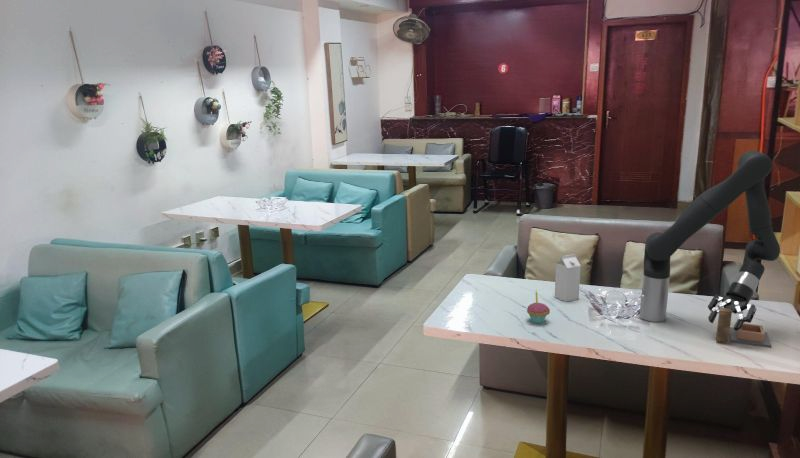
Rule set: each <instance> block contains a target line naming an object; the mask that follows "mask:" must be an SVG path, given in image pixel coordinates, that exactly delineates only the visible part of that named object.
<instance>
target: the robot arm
mask: <svg viewBox="0 0 800 458" xmlns="http://www.w3.org/2000/svg"><path fill="white" fill-rule="evenodd" d="M737 167H738V168H737V169H736V170H735V171H734V172H733V173H731V174H730V176H728V177H727V178H726V179H725V180H723V181H722V182H719V183H717V184H716V185H714V186H712V187H710V188H708V189H706V190H705V191H704V192H702V193H701V194H699V195H698V196H697V197H695V199H694V200H693V201H691V202H690V203H689V204H688V205H687V207H686V208H685V209H684V210H683V212H681V214H680V215H679V217H678V218H677V219H676V221H675V222H674V223H673V224H672V225H671V226H670V227H668V228H667V229H666V230H665V231H664V232H654V233H652V234H649V236H648V237H646V240H645V243H644V256H643V277H642V285H641V286H642V287H641V297H640V307H639V319H641V320H645V321H647V322H653V323H662V322H665V321H666V318H667V309H668V308H667V307H668V297H669V288H670V277H671V258H672V256H673V255H674V253H676V252H677V251H678V249H680V247H681V246H682V245H683V244H684V243H685V242H686V241H687V240H688V239H690V238H691V237H692V236H693V235H695V234H696V233H697V232H699V231H700V230H701V229H703V228H704V227H705V226H706V225H707V224H709V223H710V222H711V221H712V220H714V219H715V218H716V217H717V216H719V214H721V213H722V212H723V211H724V210H725V209H726V208H728V207H729V206H730V205H731V204H733V202H735V200H737V199H738V198H739V197H740V196H741V195H742V194H743V193H744V194H745V201H746V210H747V211H746V212H747V219H748V229H749V233H750V234H751V235H753V236H755V237H757V238H759V239H752V240H750V241H749V242H748V243H747V244H746V245H745V246H746V247H745V251H744V257H743V262H742V265H741V267H740V269H739V270H738V272H737V274H736V275H735V276H734V278H733V280H732V282H731V283H730V285H729V288H728V289H727V291H726V292H725V295H724V296H723V297H722V296H719V295H718V294H715V295H714V296H713V298H712V299H711V300H710V302H709V304H708V305H707V308H708V310H709V312H710V313H709V316H708V322H709V323H711V324H714V322H715V319H716V318H717V315H719V309H720V307H722V308H730V309H731V310H732V314H733V315H736V314H737V315H738V319H737V320H736V321H735V324H734V326H733V328H734V330H735V331H738V330H740V329H741V327H742V325H743V323H747V324H751V323H752V321H753V319H754V316H755V314H756V312H757V307H756V305H755V304H750V301H751V299H752V297H753V296H754V294H755V292H756V290H757V287H758V286H759V282H760V280H761V279H762V276H763V275H764V272H765V266H764V265H763V263H761V262H760V261H757V260H761V261H767V262H773V261H776V260H777V259H778V258H779V256H780V254H781V248H780V244H779V242H778V239H777V237H776V235H775V232H774V230H773V224H772V223H773V222H772V215H771V214H772V213H771V208H770V205H769V201H768V198H767V193H766V189H765V181H764V180H765V179H764V178H766V177H768V175H769V174H770V173H771V171H772V170H773V169H772V168H773V161H772V160H771V158H770V156H768V155H767V154H765V153H763V152H761V151H757V150H748V151H747V150H746V152H743V153H742V154H741V155H740V156H739V158H738V161H737ZM745 310H748V311H747V314H746V316H745V315H744V312H743V311H745Z"/></svg>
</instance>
